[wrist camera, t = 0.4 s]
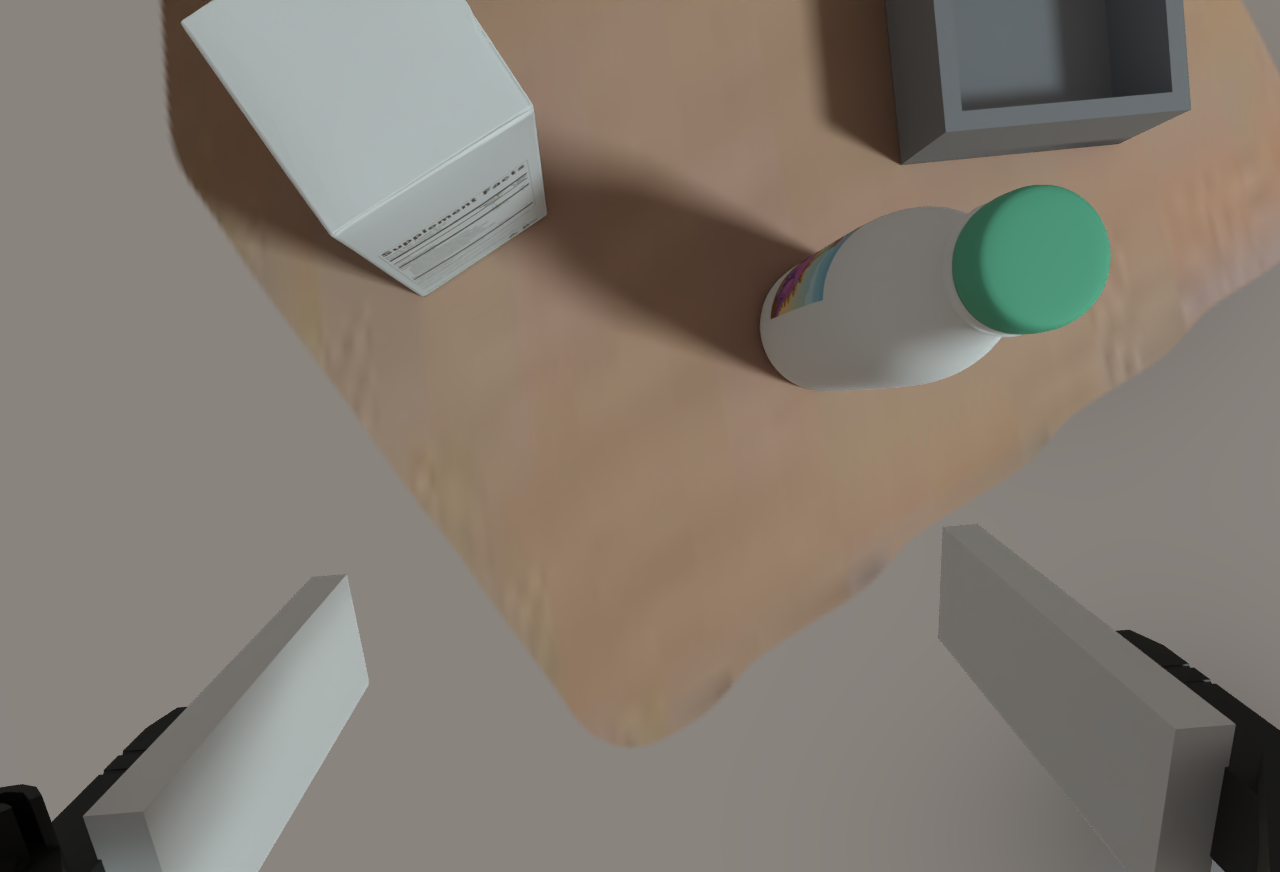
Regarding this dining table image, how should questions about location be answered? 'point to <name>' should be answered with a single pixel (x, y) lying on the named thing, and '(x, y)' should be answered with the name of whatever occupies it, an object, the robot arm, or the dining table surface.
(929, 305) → the milk bottle
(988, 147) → the box
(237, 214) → the dining table surface
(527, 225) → the supplement box
